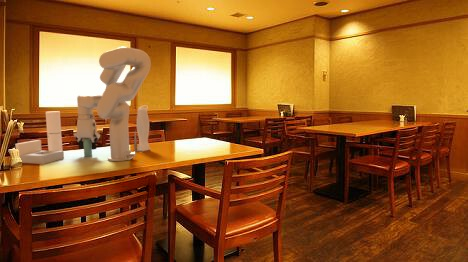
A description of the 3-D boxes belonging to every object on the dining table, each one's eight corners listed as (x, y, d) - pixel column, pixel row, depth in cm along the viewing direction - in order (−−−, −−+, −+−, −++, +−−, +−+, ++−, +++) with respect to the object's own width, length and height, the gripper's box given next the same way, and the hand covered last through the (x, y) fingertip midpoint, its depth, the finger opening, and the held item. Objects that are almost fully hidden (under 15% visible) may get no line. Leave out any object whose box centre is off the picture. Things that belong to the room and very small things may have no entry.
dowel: (93, 156, 180) (92, 138, 179) (89, 157, 176) (87, 139, 175) (87, 155, 181) (86, 138, 180) (82, 157, 177) (81, 139, 176)
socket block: (64, 158, 173) (63, 151, 172) (43, 163, 159) (42, 155, 159) (42, 157, 176) (41, 150, 175) (20, 162, 162) (19, 155, 162)
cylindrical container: (56, 155, 182) (53, 112, 180) (45, 155, 184) (42, 112, 181) (65, 153, 189) (62, 111, 186) (55, 153, 191) (52, 111, 188)
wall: (42, 157, 176) (40, 140, 175) (20, 163, 162) (18, 143, 161) (39, 157, 176) (37, 140, 175) (17, 163, 163) (15, 143, 161)
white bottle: (144, 148, 203) (142, 104, 200) (153, 150, 198) (151, 105, 195) (133, 150, 196) (131, 105, 193) (142, 152, 191) (140, 105, 188)
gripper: (104, 117, 178) (105, 148, 180) (76, 116, 181) (78, 147, 183) (95, 118, 170) (97, 150, 172) (67, 117, 174) (69, 149, 176)
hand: (87, 148), depth 178 cm, fingers open, 7 cm apart
